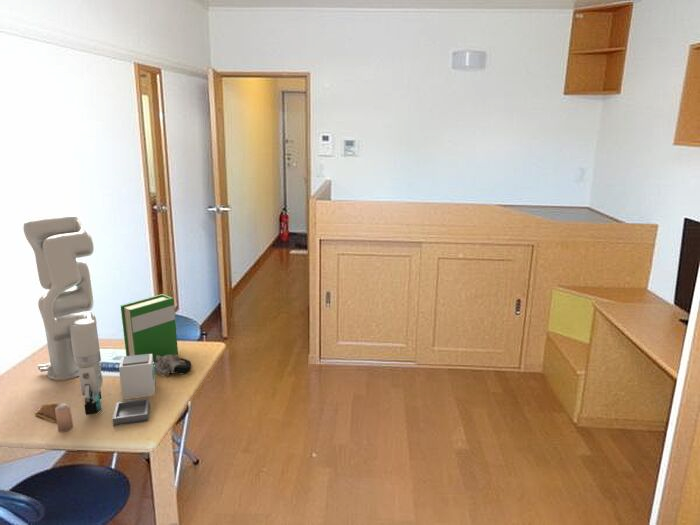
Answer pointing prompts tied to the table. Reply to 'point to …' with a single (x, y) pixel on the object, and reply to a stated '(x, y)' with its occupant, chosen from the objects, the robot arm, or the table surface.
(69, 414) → the terracotta cartridge
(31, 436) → the table surface
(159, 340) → the hardback book
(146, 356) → the unit
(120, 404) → the tray
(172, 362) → the caster wheel
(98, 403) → the cylinder
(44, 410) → the shard
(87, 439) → the table surface
